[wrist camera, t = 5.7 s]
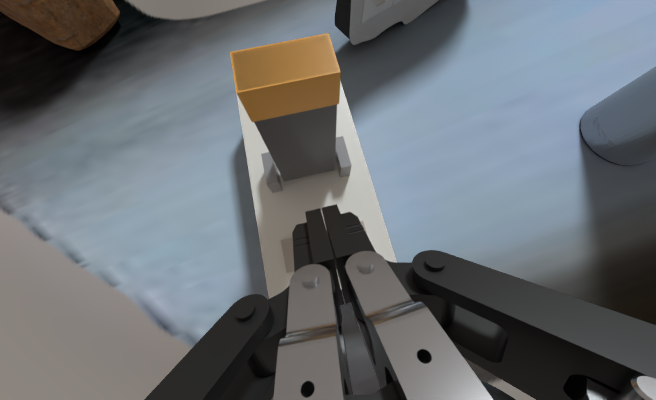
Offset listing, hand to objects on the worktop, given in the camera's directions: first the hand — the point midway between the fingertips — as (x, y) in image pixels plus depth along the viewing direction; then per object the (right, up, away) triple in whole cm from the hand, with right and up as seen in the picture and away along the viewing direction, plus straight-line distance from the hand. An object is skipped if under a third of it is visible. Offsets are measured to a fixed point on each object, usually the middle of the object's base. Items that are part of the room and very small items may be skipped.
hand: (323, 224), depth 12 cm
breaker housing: (-2, +3, +19) cm, 20 cm away
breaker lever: (-2, +4, +13) cm, 14 cm away
